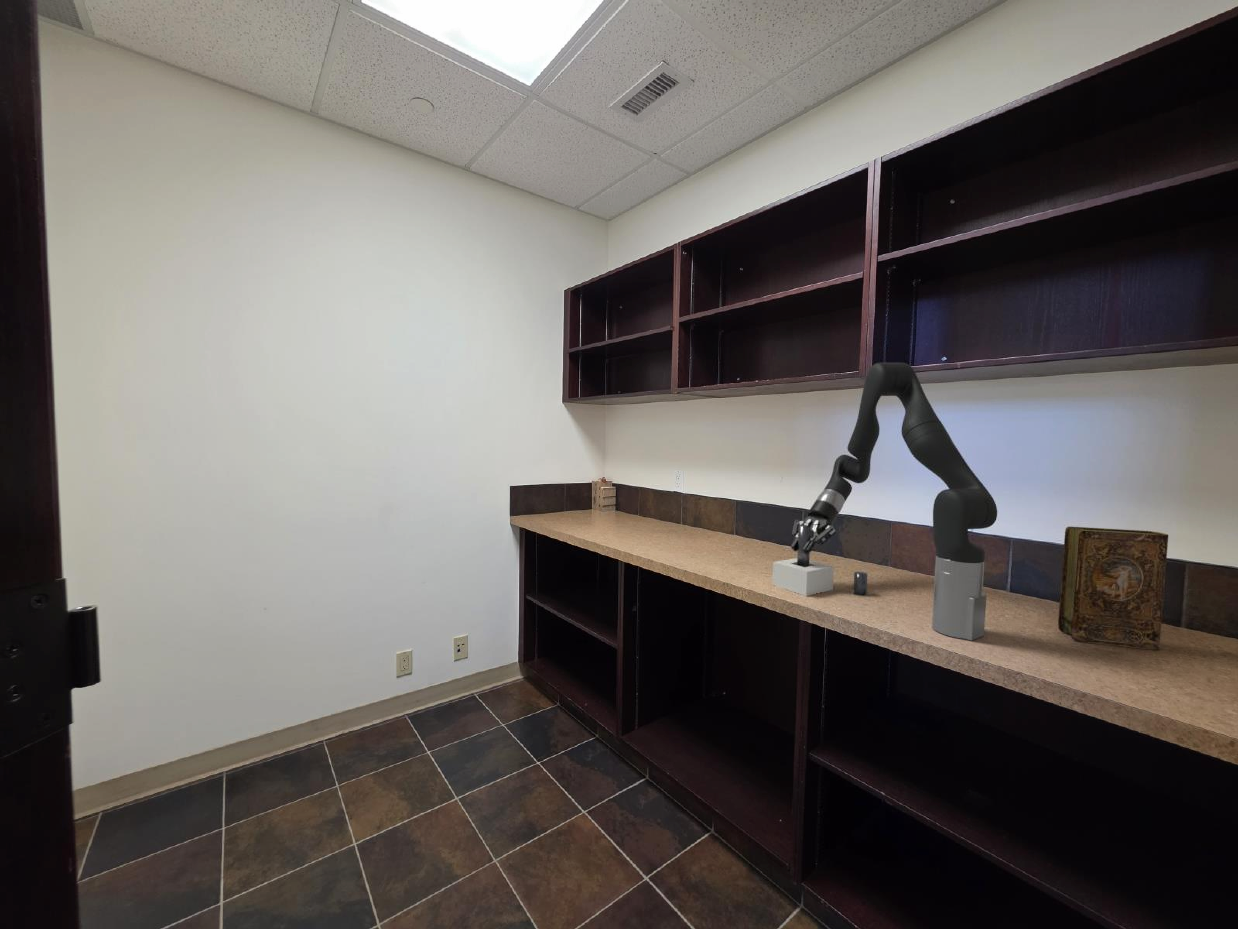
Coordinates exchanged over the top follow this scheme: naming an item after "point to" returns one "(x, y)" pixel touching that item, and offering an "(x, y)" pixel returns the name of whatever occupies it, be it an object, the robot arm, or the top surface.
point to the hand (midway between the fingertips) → (799, 550)
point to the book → (1113, 586)
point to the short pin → (860, 583)
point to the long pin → (802, 540)
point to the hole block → (803, 577)
